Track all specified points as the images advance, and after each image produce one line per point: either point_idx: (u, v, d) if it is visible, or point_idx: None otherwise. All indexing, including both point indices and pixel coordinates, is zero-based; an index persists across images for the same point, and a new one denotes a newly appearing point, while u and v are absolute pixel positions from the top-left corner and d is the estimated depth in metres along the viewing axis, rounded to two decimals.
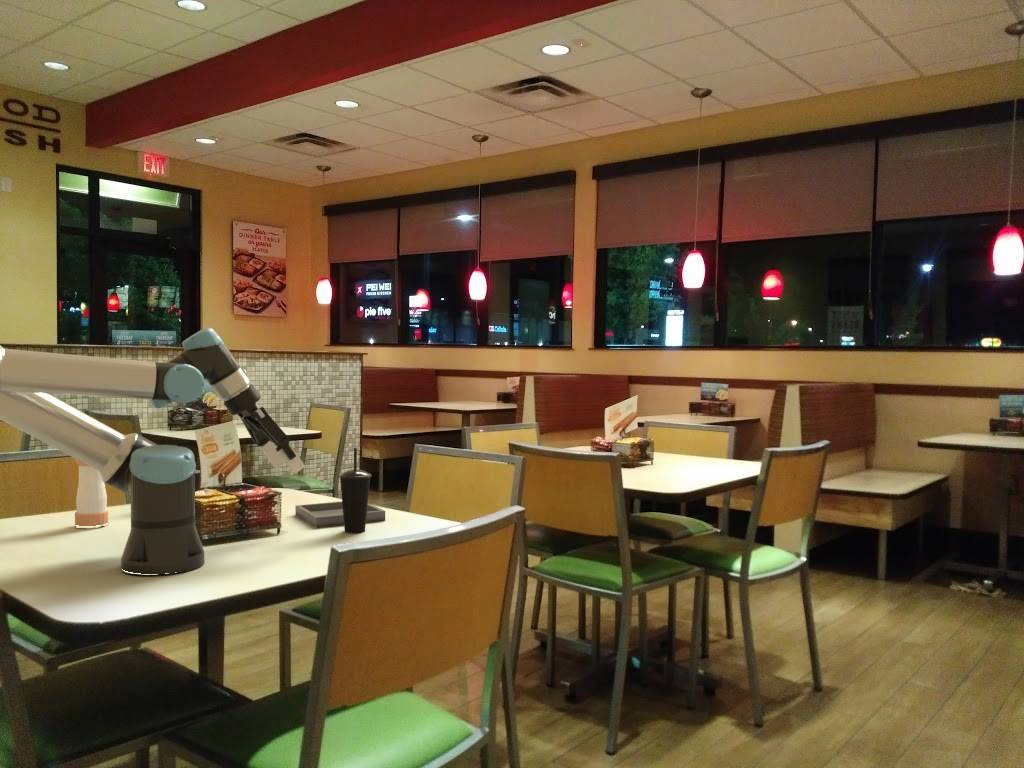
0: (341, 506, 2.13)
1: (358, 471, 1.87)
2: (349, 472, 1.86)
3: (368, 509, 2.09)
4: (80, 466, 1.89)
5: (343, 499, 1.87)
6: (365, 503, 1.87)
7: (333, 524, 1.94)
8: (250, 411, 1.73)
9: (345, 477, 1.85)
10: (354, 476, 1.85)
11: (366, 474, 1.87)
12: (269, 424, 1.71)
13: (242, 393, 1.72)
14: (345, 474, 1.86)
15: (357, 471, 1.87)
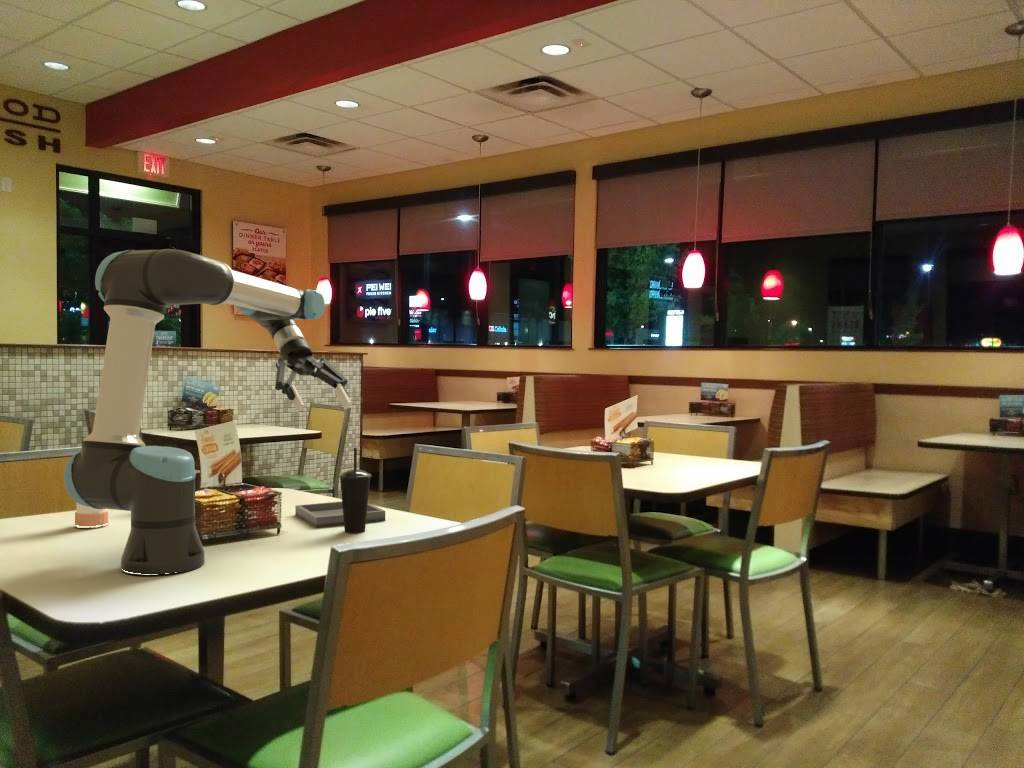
0: (341, 506, 2.13)
1: (358, 471, 1.87)
2: (349, 472, 1.86)
3: (368, 509, 2.09)
4: None
5: (343, 499, 1.87)
6: (365, 503, 1.87)
7: (333, 524, 1.94)
8: None
9: (345, 477, 1.85)
10: (354, 476, 1.85)
11: (366, 474, 1.87)
12: None
13: None
14: (345, 474, 1.86)
15: (357, 471, 1.87)
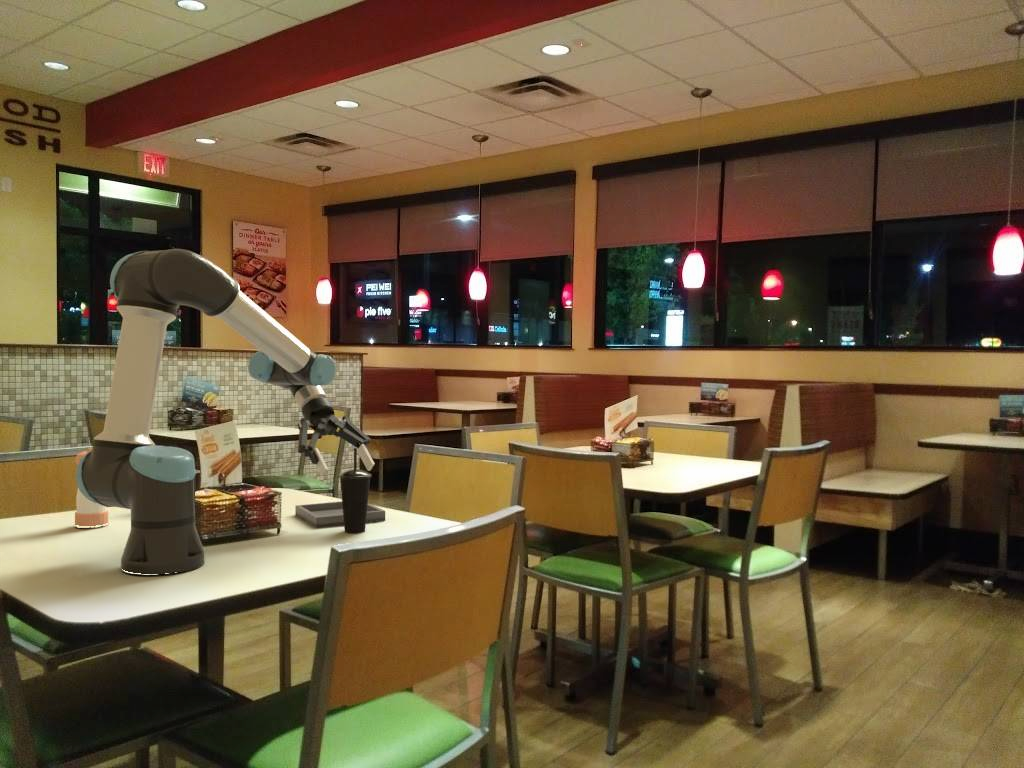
0: (341, 506, 2.13)
1: (358, 471, 1.87)
2: (349, 472, 1.86)
3: (368, 509, 2.09)
4: None
5: (343, 499, 1.87)
6: (365, 503, 1.87)
7: (333, 524, 1.94)
8: (335, 416, 2.02)
9: (345, 477, 1.85)
10: (354, 476, 1.85)
11: (366, 474, 1.87)
12: None
13: None
14: (345, 474, 1.86)
15: (357, 471, 1.87)
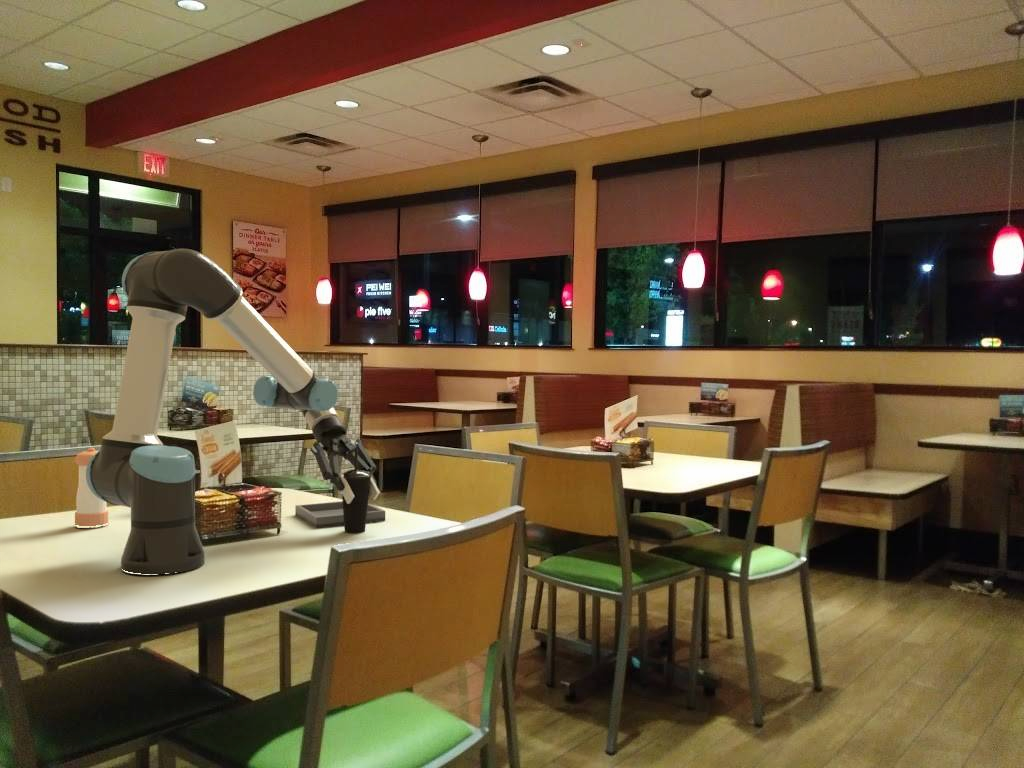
0: (341, 506, 2.13)
1: (359, 471, 1.87)
2: (350, 472, 1.87)
3: (368, 509, 2.09)
4: (80, 466, 1.89)
5: (343, 499, 1.87)
6: (365, 503, 1.87)
7: (333, 524, 1.94)
8: (347, 436, 1.97)
9: (346, 477, 1.85)
10: (355, 476, 1.85)
11: (367, 474, 1.87)
12: None
13: None
14: (346, 474, 1.86)
15: (358, 470, 1.87)
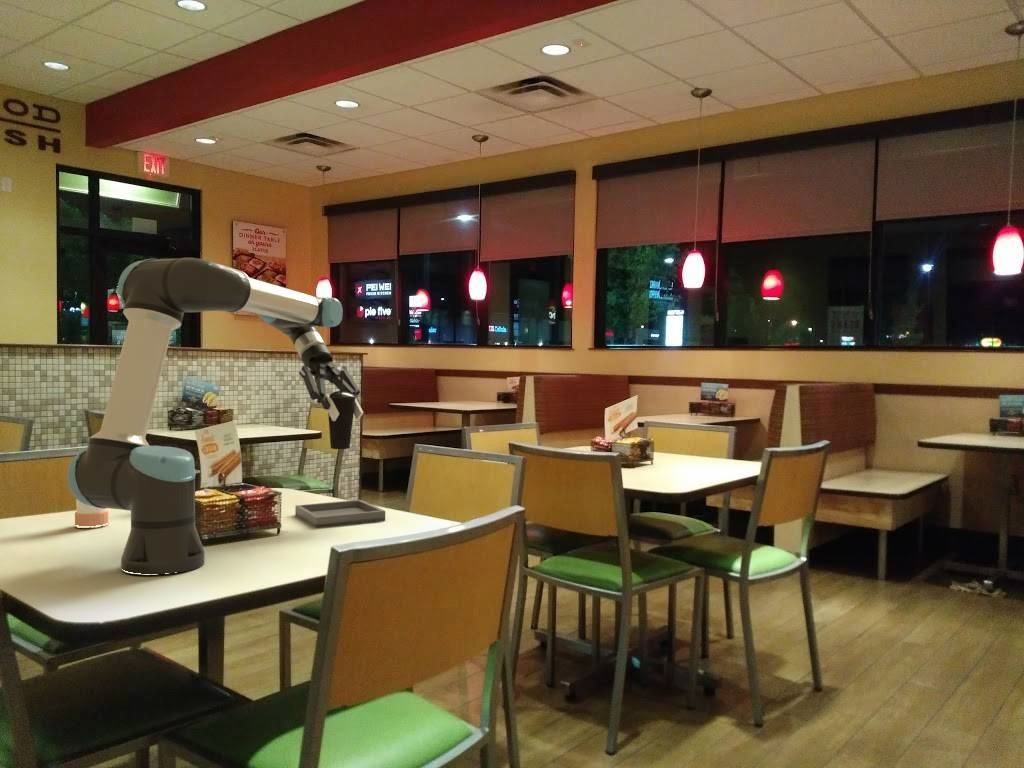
0: (341, 506, 2.13)
1: (344, 392, 2.02)
2: (335, 392, 2.01)
3: (368, 509, 2.09)
4: None
5: (329, 417, 2.01)
6: (350, 422, 2.02)
7: (333, 524, 1.94)
8: (333, 363, 2.11)
9: (331, 396, 2.00)
10: (340, 396, 2.00)
11: (351, 395, 2.02)
12: None
13: None
14: (332, 394, 2.01)
15: (343, 391, 2.02)
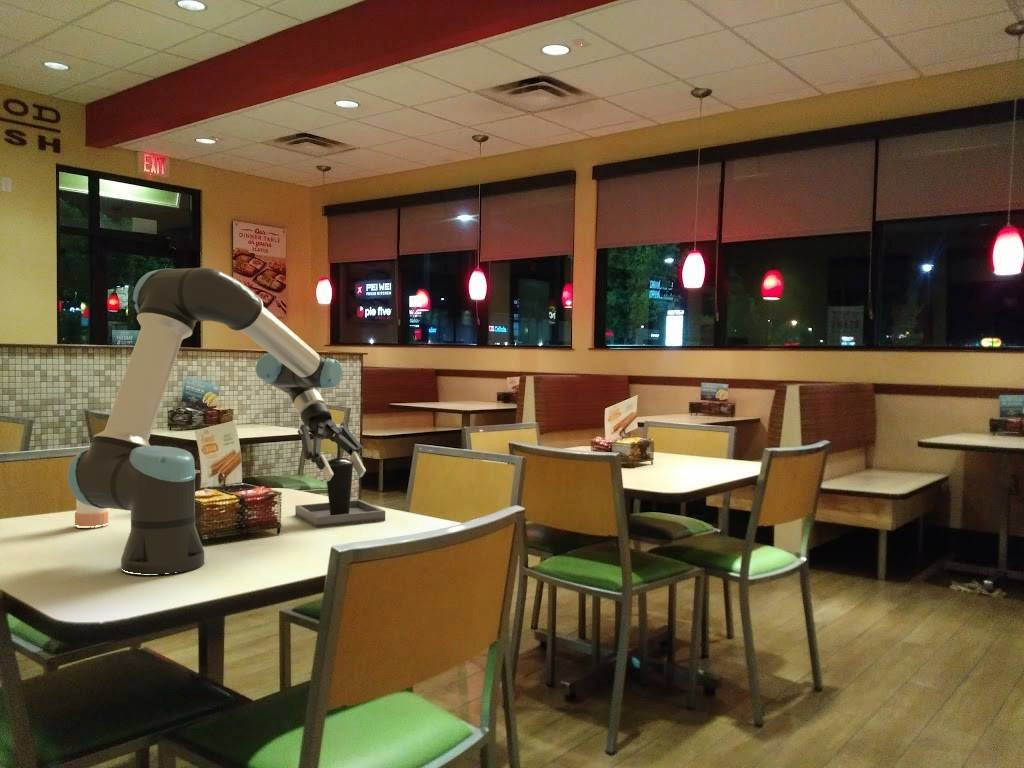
0: None
1: (341, 459, 2.03)
2: (333, 460, 2.02)
3: (368, 509, 2.09)
4: None
5: (328, 485, 2.02)
6: (348, 488, 2.03)
7: (333, 524, 1.94)
8: (332, 421, 2.12)
9: (329, 464, 2.01)
10: (337, 463, 2.01)
11: (349, 461, 2.03)
12: None
13: None
14: (329, 462, 2.02)
15: (340, 458, 2.03)
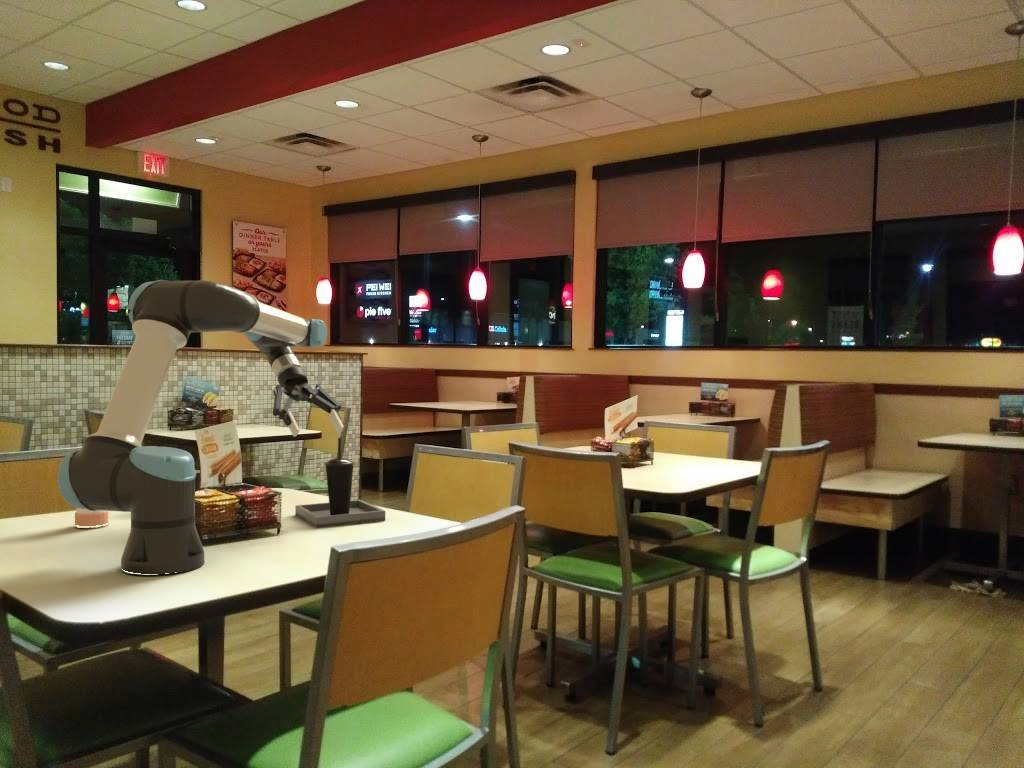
0: None
1: (342, 459, 2.03)
2: (334, 460, 2.02)
3: (368, 509, 2.09)
4: None
5: (328, 485, 2.02)
6: (349, 488, 2.03)
7: (333, 524, 1.94)
8: None
9: (330, 464, 2.01)
10: (338, 463, 2.01)
11: (349, 461, 2.03)
12: None
13: None
14: (330, 461, 2.02)
15: (341, 458, 2.03)
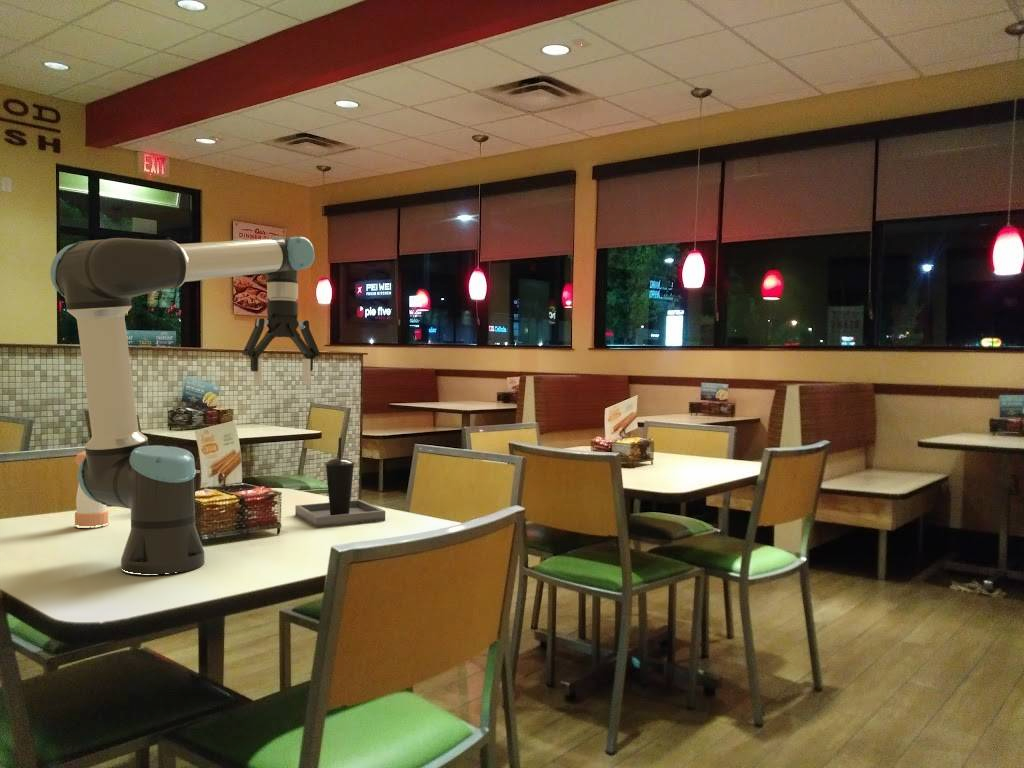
0: None
1: (342, 459, 2.03)
2: (334, 460, 2.02)
3: (368, 509, 2.09)
4: None
5: (328, 485, 2.02)
6: (349, 488, 2.03)
7: (333, 524, 1.94)
8: None
9: (330, 464, 2.01)
10: (338, 463, 2.01)
11: (350, 462, 2.03)
12: None
13: None
14: (330, 462, 2.02)
15: (341, 458, 2.03)
